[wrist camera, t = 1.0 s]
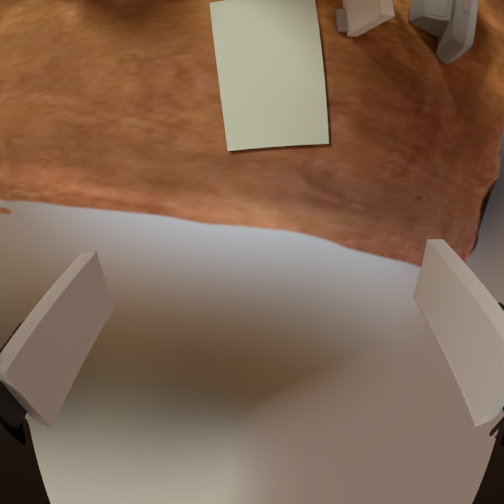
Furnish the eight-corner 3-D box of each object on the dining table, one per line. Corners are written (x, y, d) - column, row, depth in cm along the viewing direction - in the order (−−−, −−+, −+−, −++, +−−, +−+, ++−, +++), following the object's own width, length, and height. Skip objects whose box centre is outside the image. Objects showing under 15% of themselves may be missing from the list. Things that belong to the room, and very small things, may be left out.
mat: (210, 4, 26) (209, 2, 26) (313, -4, 25) (314, -6, 25) (228, 150, 36) (227, 151, 35) (328, 142, 35) (328, 143, 34)
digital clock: (443, 70, 28) (492, 71, 19) (387, 30, 27) (427, 14, 17) (474, -7, 21) (519, -18, 11) (424, -46, 19) (461, -70, 10)
